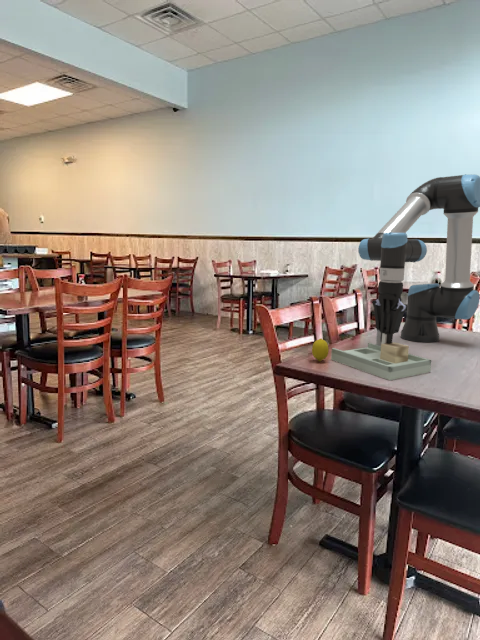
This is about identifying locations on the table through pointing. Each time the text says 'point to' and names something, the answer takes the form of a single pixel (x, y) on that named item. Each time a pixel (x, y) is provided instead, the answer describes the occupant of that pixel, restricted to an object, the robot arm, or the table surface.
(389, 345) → the maple block
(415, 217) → the robot arm
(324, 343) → the lemon
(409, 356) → the sage tray
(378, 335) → the energy drink
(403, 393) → the table surface
